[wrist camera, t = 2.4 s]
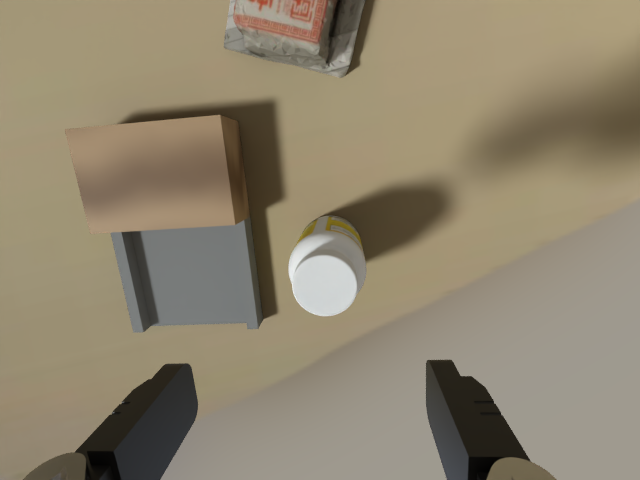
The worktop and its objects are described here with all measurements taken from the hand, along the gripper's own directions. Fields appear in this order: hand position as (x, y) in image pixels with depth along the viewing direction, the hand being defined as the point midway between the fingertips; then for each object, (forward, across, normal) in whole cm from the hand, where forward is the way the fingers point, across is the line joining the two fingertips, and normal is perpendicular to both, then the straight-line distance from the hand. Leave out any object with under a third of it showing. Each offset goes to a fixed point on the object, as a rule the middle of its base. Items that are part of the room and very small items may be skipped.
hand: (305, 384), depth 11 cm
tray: (+18, +13, +2) cm, 23 cm away
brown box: (+18, +13, -7) cm, 24 cm away
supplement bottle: (+19, 0, 0) cm, 19 cm away
